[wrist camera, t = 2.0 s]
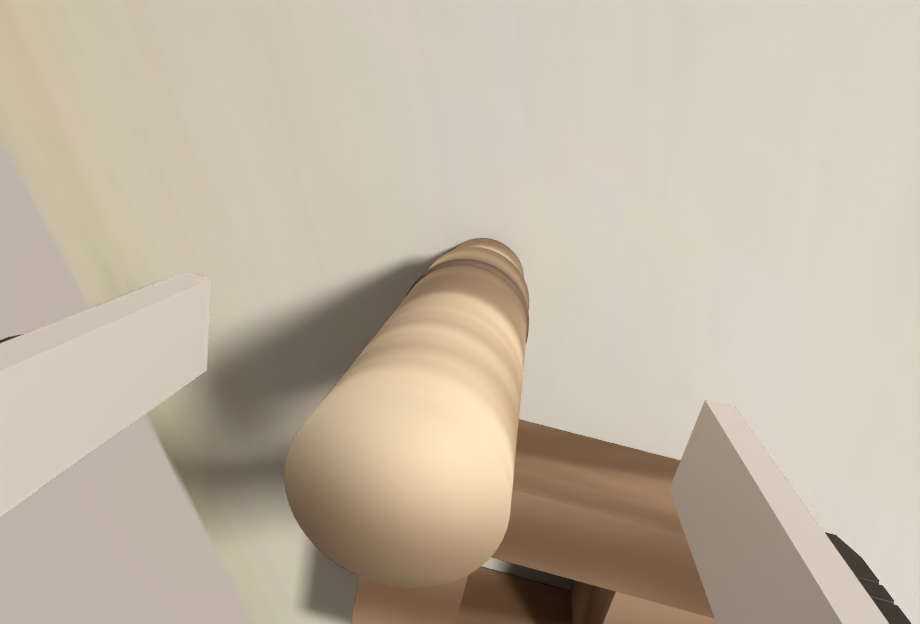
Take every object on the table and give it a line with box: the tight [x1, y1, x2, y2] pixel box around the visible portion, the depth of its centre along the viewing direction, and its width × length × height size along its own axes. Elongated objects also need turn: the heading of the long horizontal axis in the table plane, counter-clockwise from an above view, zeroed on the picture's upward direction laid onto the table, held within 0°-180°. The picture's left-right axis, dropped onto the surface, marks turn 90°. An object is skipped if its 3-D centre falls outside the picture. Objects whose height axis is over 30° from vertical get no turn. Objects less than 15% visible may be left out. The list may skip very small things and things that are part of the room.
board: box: [351, 420, 717, 624], centre depth 24 cm, size 12×14×5 cm
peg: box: [284, 238, 529, 588], centre depth 16 cm, size 4×4×14 cm
